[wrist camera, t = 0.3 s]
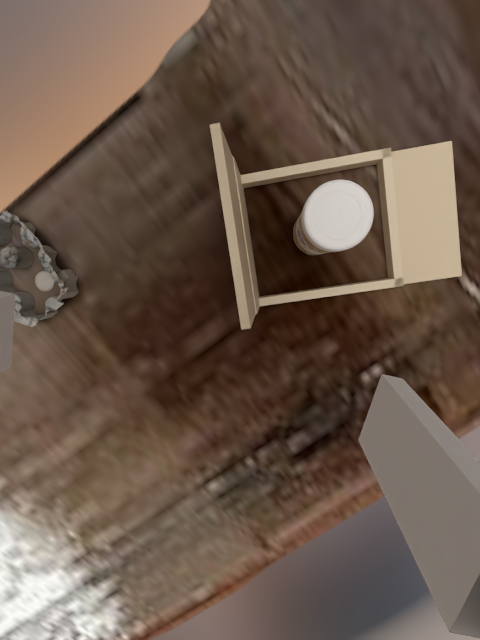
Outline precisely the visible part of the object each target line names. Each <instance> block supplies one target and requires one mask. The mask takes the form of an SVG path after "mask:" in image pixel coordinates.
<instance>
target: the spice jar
mask: <svg viewBox="0 0 480 640" xmlns="http://www.w3.org/2000/svg"><path fill="white" fill-rule="evenodd" d="M373 217H374V210H373V204H372V201H371V199H370V197H369V195H368V193H367V192H366V191H365V190H364V189H363V188H362V187H361V186H359V185H358V184H356V183H354V182H352V181H348V180H332V181H329V182H326V183H324V184H322V185H320V186H319V187H318V188H317V189H315V190H314V191H313V192H312V194H311V195H310V196H309V197H308V199H307V201H306V203H305V205H304V207H303V210H302V213H301V214H300V216H299V218H298V219H297V221H296V223H295V224H294V228H293V238H294V242H295V244H296V246H297V247H298V248H299V249H300V250H301V251H303V252H304V253H306V254H308V255H321V254H324V253H328V252H339V251H343V250H347V249H349V248H352V247H354V246H356V245H357V244H358V243H360V242H361V241H362V240H363V239H364V238H365V237H366V235H367V234H368V232H369V230H370V228H371V226H372V223H373Z"/></svg>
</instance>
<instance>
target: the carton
mask: <svg viewBox="0 0 480 640" xmlns="http://www.w3.org/2000/svg"><path fill="white" fill-rule="evenodd" d="M210 130H211V136H212V143H213V149H214V156H215V162H216V169H217V175H218V182H219V188H220V195H221V201H222V208H223V214H224V221H225V227H226V234H227V240H228V247H229V253H230V260H231V266H232V273H233V279H234V285H235V292H236V298H237V305H238V311H239V318H240V324H241V330H242V329H250V328H251V326H252V323H253V320H254V318H255V315H256V314H257V313H258V310H259V307H260V306H266V305H273V304H280V303H287V302H294V301H301V300H308V299H315V298H322V297H329V296H336V295H343V294H350V293H357V292H364V291H371V290H378V289H385V288H392V287H399V286H404V284H408V283H415V282H422V281H429V280H436V279H443V278H450V277H457V276H462V273H461V259H460V246H459V232H458V218H457V205H456V191H455V177H454V164H453V150H452V141H449V142H443V143H438V144H432V145H427V146H421V147H416V148H410V149H405V150H399V151H394V152H391V148H386V149H381V150H375V151H370V152H364V153H359V154H354V155H348V156H343V157H337V158H332V159H326V160H321V161H315V162H310V163H305V164H299V165H294V166H288V167H283V168H277V169H272V170H266V171H261V172H256V173H250V174H245V175H240V172H239V170H238V167H237V164H236V161H235V159H234V157H232V154H231V152H230V149H229V146H228V144H227V141H226V139H225V136H224V133H223V131H222V128H221V125H220V123H215V124H210ZM376 164H377V174H378V184H379V195H380V205H381V215H382V225H383V235H384V245H385V255H386V265H387V275H388V278H385V279H378V280H371V281H364V282H357V283H350V284H343V285H336V286H330V287H323V288H316V289H309V290H302V291H295V292H288V293H281V294H275V295H268V296H261V297H259V291H258V284H257V277H256V270H255V263H254V256H253V250H252V243H251V236H250V229H249V222H248V215H247V208H246V202H245V195H244V188H248V187H254V186H259V185H265V184H270V183H276V182H282V181H287V180H293V179H298V178H304V177H309V176H315V175H321V174H326V173H332V172H337V171H343V170H348V169H354V168H360V167H365V166H371V165H376Z"/></svg>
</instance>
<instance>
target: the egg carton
mask: <svg viewBox="0 0 480 640" xmlns="http://www.w3.org/2000/svg"><path fill="white" fill-rule="evenodd" d="M12 223H17V224H21V225H22V227H20V229H21V233H20V236H21V238H22V244H23V245H24V246H29V247H34V248H40V250H39V253H38V259H40V260H41V264H42V266H43V267H44V271H41V272H39V273H38V274H37V275H36V277H35V284H36V286H37V288H38V289H39V290H41V291H44V292H48V291H50V290H52V289H53V287H54V284H55V282H56V283H57V284H58V285H59V287H60V289H61V291H60V294H59V295H55V296H52V297H49V298H48V299H47V301H46V303H45V311H46V312H45V314H41V315H36V314H35V313H34V312H33V310H32V309H33V308H34V305H35V301H34V298H33V296H32V295H31V294H30V293H28V292H26V291H21V292H15V291H14V289H13V288H12V287H11V286H12V284H13V275H12V273H11V272H10V271H9V270H8V269H27V268H29V267H30V266H31V265H32V264H33V261H34V258H33V254H32V252H31V251H30V250H29V249H27V248H25V247H14V246H8V247H6V248H4V249H2V250H1V251H0V266H1V267H5V268H0V291H4V292H8V293H13V294H15V305H14V321H15V322H17V323H20V324H23V325H27V326H30V327H33V326H35V325H36V324H37V322H38V321H39V320H42V319H47V318H51V317H53V316H54V315H55V314H57V313H58V310H57V309H58V308H59V307H61V306H62V305H63V304H64V303H63V302H61V300H62V299H65V298H71V297H74V296H75V295H76V294H77V293H78V292H79V291H78V289H77V286H76V281H77V279H78V276H77V274H76V273H75V272H74V271H73V270H70V269H67V270H60V269H59V268H58V267H57V265H56V262H55V257H56V255H57V252H56V251H55V250H53V249H52V248H51V247H48V246H47V245H41V243H40V241H39V240H38V238H37V237H36V236H35V235H34V233H35V231H36V228H35V227H34V226H33V225H32V224H31V223H30V222H27V223H24V222H21V221H20V220H19V218H18V216H16V215H11V214H10V213H8V212H7V211H6V210H5V211H3V212H2V213H1V216H0V245H7V244H9V243H10V242H11V240H12V231H11V229H10V226H11V225H12ZM15 246H16V245H15ZM6 268H8V269H6Z"/></svg>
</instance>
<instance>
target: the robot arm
mask: <svg viewBox="0 0 480 640" xmlns="http://www.w3.org/2000/svg"><path fill="white" fill-rule="evenodd" d="M14 305H15V294H13V293H8V292H4V291H0V373H1V372H3V371H4V370H6V369H8V368H9V367H11V364H12V344H13V325H14ZM359 443H360V445H361V447H362V449H363V451H364V453H365V455H366V457H367V459H368V462H369V464H370V466H371V468H372V470H373V472H374V474H375V476H376V478H377V480H378V483H379V485H380V487H381V489H382V491H383V493H384V495H385V497H386V499H387V502H388V504H389V506H390V508H391V510H392V512H393V514H394V516H395V518H396V521H397V522H398V525H399V527H400V529H401V531H402V533H403V535H404V537H405V539H406V542H407V544H408V546H409V548H410V550H411V552H412V554H413V556H414V558H415V561H416V563H417V565H418V567H419V569H420V571H421V573H422V575H423V577H424V580H425V581H426V584H427V586H428V588H429V590H430V592H431V594H432V596H433V598H434V601H435V603H436V605H437V606H438V609H439V611H440V613H441V615H442V617H443V620H444V622H445V624H446V626H447V628H448V630H449V632H452V633H457V634H462V635H467V636H472V637H477V638H480V461H478V459H477V458H476V457H475V456H474V455H473V454H472V453H471V452H470V451H469V450H468V449H467V448H466V446H465V445H464V444H463V443H462V442H461V441H460V440H459V439H458V438H457V437H456V436H455V435H454V434H453V433H452V431H451V430H450V429H449V428H448V427H447V426H446V425H445V424H444V423H443V422H442V421H441V420H440V419H439V417H438V416H437V415H436V414H435V413H434V412H433V411H432V410H431V409H430V408H429V407H428V406H427V405H426V403H425V402H424V401H423V400H422V399H421V398H420V397H419V396H418V395H417V394H416V393H415V392H414V391H413V389H412V388H411V387H410V386H409V385H408V384H407V383H406V382H405V381H404V380H403V379H402V378H397V377H392V376H388V375H383V374H382V375H381V378H380V380H379V383H378V386H377V389H376V392H375V395H374V397H373V400H372V403H371V406H370V409H369V412H368V414H367V417H366V420H365V423H364V426H363V429H362V431H361V434H360V437H359Z"/></svg>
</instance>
